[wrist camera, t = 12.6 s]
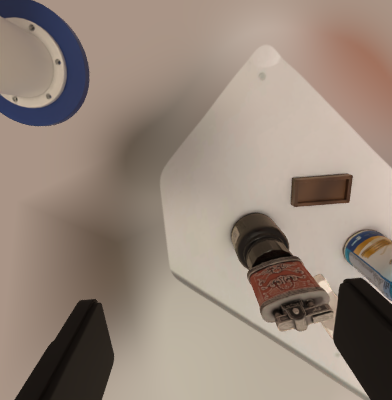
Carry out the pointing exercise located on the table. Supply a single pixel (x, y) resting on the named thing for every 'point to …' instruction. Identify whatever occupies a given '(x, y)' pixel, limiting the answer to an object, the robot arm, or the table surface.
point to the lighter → (289, 294)
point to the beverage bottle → (372, 258)
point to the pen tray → (321, 190)
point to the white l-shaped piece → (332, 303)
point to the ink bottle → (258, 240)
